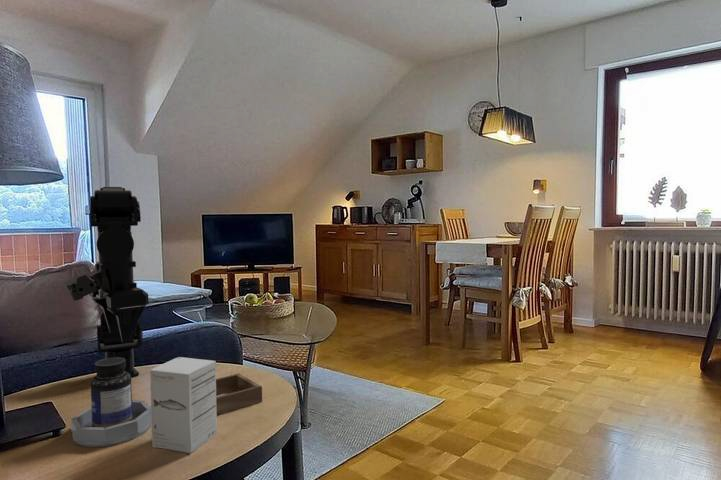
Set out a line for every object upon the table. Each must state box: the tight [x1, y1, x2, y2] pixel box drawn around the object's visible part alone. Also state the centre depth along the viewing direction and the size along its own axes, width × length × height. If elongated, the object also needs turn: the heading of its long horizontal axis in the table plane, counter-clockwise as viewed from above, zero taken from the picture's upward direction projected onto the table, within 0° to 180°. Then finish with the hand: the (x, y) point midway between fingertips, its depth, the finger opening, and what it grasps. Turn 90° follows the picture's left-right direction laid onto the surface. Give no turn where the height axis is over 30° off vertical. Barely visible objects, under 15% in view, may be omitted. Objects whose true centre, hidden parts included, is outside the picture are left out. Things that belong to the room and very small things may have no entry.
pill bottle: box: [90, 357, 133, 428], centre depth 81 cm, size 6×6×11 cm
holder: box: [216, 372, 263, 416], centre depth 93 cm, size 10×10×3 cm
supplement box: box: [149, 356, 218, 454], centre depth 77 cm, size 7×7×13 cm
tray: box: [70, 399, 152, 448], centre depth 81 cm, size 12×12×3 cm
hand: (119, 337), depth 91 cm, fingers open, 9 cm apart
